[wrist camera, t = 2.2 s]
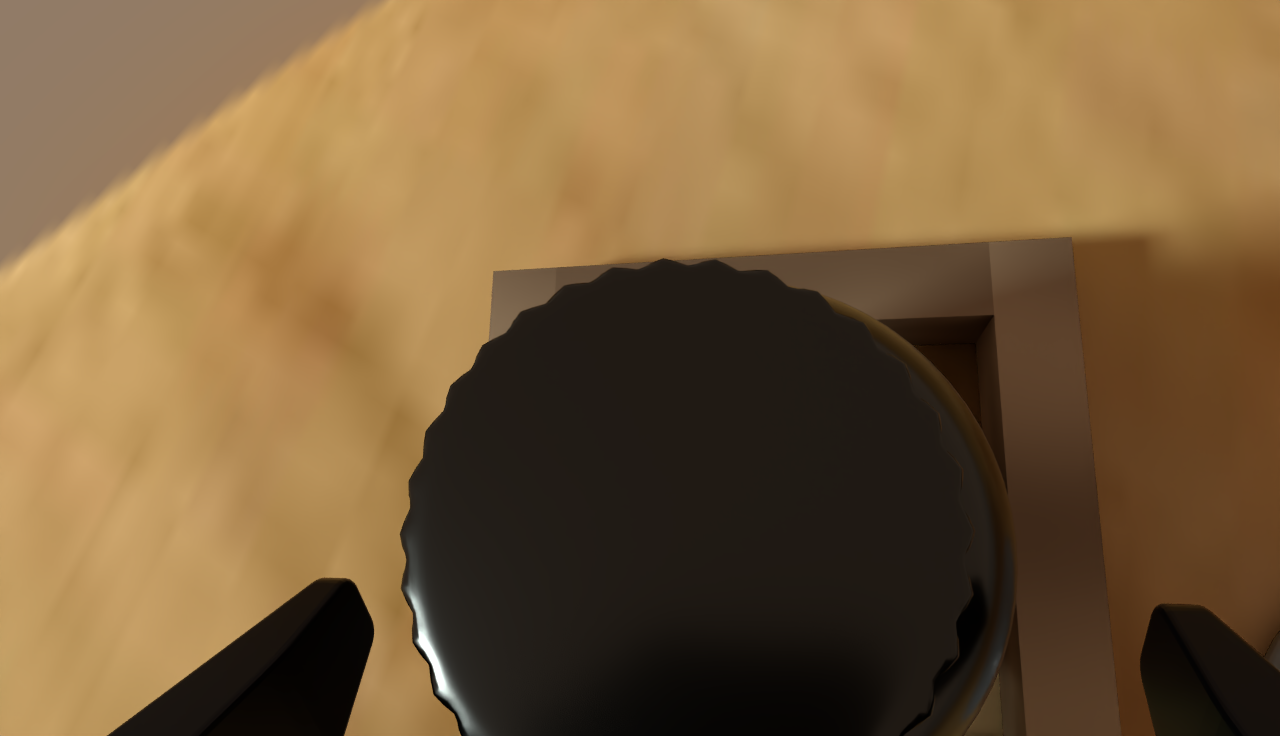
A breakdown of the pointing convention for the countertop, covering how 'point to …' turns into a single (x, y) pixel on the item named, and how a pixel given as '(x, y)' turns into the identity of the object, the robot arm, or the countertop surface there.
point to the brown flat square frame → (1011, 420)
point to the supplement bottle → (707, 521)
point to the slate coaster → (1274, 652)
